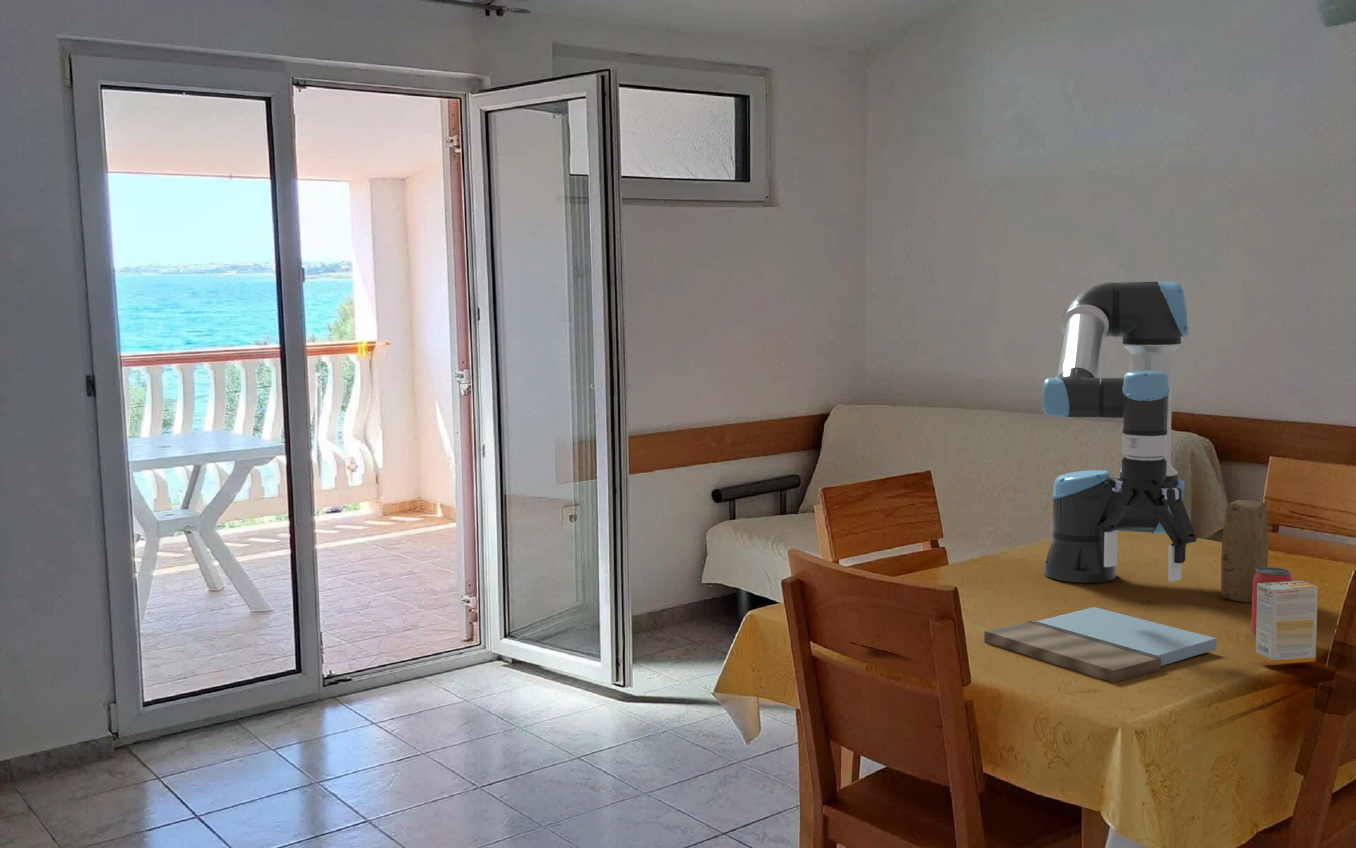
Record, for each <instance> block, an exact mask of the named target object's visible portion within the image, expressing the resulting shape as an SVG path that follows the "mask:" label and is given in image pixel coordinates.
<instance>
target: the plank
mask: <svg viewBox="0 0 1356 848" xmlns="http://www.w3.org/2000/svg"><path fill="white" fill-rule="evenodd" d="M1035 622H1036V623H1040V624H1043V625H1047V626H1050V627H1054V628H1057V629H1061V630H1064V631H1068V632H1071V633H1075V634H1078V635H1082V636H1085V637H1089V638H1092V639H1096V640H1100V641H1103V642H1107V643H1110V644H1114V645H1117V646H1121V647H1124V648H1128V649H1131V650H1135V651H1138V652H1142V653H1145V654H1149V655H1152V656H1156V657H1159V658H1161V667H1162V666H1165V665H1168V664H1172V663H1176V662H1178V661H1183V660H1185V659H1188V658H1192V657H1195V656H1199V655H1202V654H1206V653H1210V652H1212V651H1215V650H1217V638H1216V637H1213V636H1209V635H1205V634H1201V633H1197V632H1193V631H1190V630H1185V629H1181V628H1179V627H1178V628H1177V627H1174V626H1171V625H1167V624H1166V625H1165V624H1161V623H1158V622H1154V621H1150V620H1146V619H1143V618H1140V617H1139V618H1138V617H1135V616H1130V615H1126V614H1124V613H1119V612H1115V611H1111V610H1108V609H1103V608H1100V607H1095V606H1091V607H1088V608H1084V609H1080V610H1075V611H1073V612H1068V613H1064V614H1060V615H1056V616H1052V617H1048V618H1044V619H1040V620H1036V621H1035Z"/></svg>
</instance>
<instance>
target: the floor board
mask: <svg viewBox="0 0 1356 848" xmlns="http://www.w3.org/2000/svg"><path fill="white" fill-rule="evenodd" d="M983 634H984V635H983V637H984V638H983V639H984V640H983V641H984V643H987V644H990V645H994V646H996V647H999V648H1003V649H1006V650H1008V651H1013V652H1015V653H1019V654H1022V655H1025V656H1029V657H1031V658H1034V659H1037V660H1041V661H1043V662H1047V663H1049V664H1053V665H1057V666H1060V667H1062V668H1065V669H1068V670H1072V671H1075V672H1079V673H1080V674H1081V673H1082V674H1085V675H1088V676H1091V677H1094V678H1098V679H1101V680H1104V681H1107V682H1110V683H1116V682H1119V681H1123V680H1126V679H1131V678H1136V677H1138V676H1142V675H1143V676H1144V675H1146V674H1151V673H1153V672H1157V671H1161V669H1162V666H1161V658H1159V657H1156V656H1152V655H1149V654H1145V653H1142V652H1138V651H1135V650H1131V649H1128V648H1124V647H1121V646H1117V645H1114V644H1110V643H1107V642H1103V641H1100V640H1096V639H1092V638H1089V637H1085V636H1082V635H1078V634H1075V633H1071V632H1068V631H1064V630H1061V629H1057V628H1054V627H1050V626H1047V625H1043V624H1040V623H1036V621H1032V620H1027V621H1025V622H1020V623H1015V624H1011V625H1007V626H1001V627H996V628H993V629H992V628H991V629H987V630H984V632H983Z"/></svg>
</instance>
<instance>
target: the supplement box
mask: <svg viewBox="0 0 1356 848" xmlns="http://www.w3.org/2000/svg"><path fill="white" fill-rule="evenodd" d="M1318 589H1319V587H1318V586H1317V585H1314V584H1312V583H1308V582H1307V581H1306V582H1305V581H1303V580H1292V581H1288V582H1271V583H1257V621H1256V635H1255V639H1256V640H1255V657H1256V658H1258V659H1260V660H1262V661H1263V662H1266V663H1268V664H1270V665H1278V664H1279V665H1281V664H1292V663H1293V664H1294V663H1297V664H1298V663H1308V662H1311V663H1312V662H1316V661H1317V660H1316V659H1317V657H1316V656H1317V634H1318V632H1317V631H1318V630H1317V628H1318V627H1317V625H1318V623H1317V622H1318V597H1319V596H1318V593H1319V592H1318Z"/></svg>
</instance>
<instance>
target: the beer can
mask: <svg viewBox="0 0 1356 848" xmlns="http://www.w3.org/2000/svg"><path fill="white" fill-rule="evenodd" d="M1256 571H1257V572H1256V574H1255V576H1254V578H1253V591H1252V602H1251V623H1250V624H1251V626H1250V627H1251V629H1250V630H1251V633H1253V634H1254V635H1255V636H1256V621H1257V583H1271V582H1288V581H1293V579H1292V576H1291V571H1290V570H1289V569H1286V568H1280V567H1272V566H1271V567H1270V566H1269V567H1261V568H1258V569H1256Z"/></svg>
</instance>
